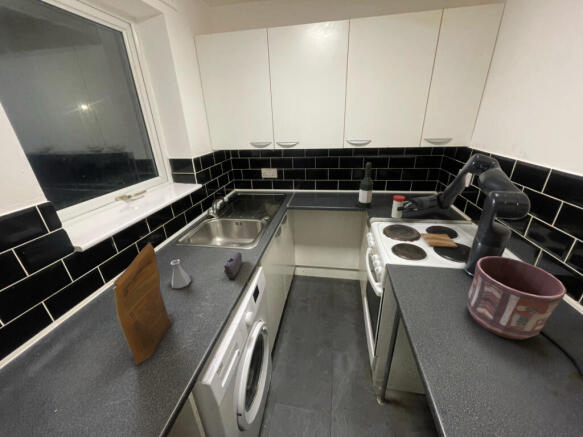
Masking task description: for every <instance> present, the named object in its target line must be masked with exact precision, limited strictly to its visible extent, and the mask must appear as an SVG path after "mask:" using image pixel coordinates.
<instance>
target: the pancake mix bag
mask: <svg viewBox="0 0 583 437" xmlns="http://www.w3.org/2000/svg"><path fill="white" fill-rule="evenodd" d="M160 280H161V279H160V272H159V268H158V262H157V254H156V250H155V248H154V246H153V244H151V242H148V243H147V244H146V245H145V246H144V247H143V248H142V249H141V251H140V252H139V253H138V254H137V255H136V256H135V257H134V259H133V260H132V261H131V263H130V264H129V265H128V267H126V269H125V270H124V271H123V272H121V274H120V275H119V276H117V278H116V279H115V280H114V281H112V282H113V284H114V287H113V288H112V289H111V290H112V295H113V302H114V310H115V315H116V319H117V323H118V325H119V328H120V331H121V333H122V335H123V337H124V339H125V341H126V343H127V346H128V348H129V351H130V353H131V354H132V356H133V358H134V361H135V366H138V365H139V364H141V363H143V362H145V361H146V360H148V359H150V357H152V356H153V355H154V353H155V352H156V350H157V348H158V347H159V345H160V344H161V342H162V340H163V339H164V337H165V335H166V333H167V332H168V330H169V328H170V327H171V326H172V318H171V317H170V315H169V314H168V311H167V307H166V305H165V301H164V298H163V295H162V292H161V281H160Z"/></svg>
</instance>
